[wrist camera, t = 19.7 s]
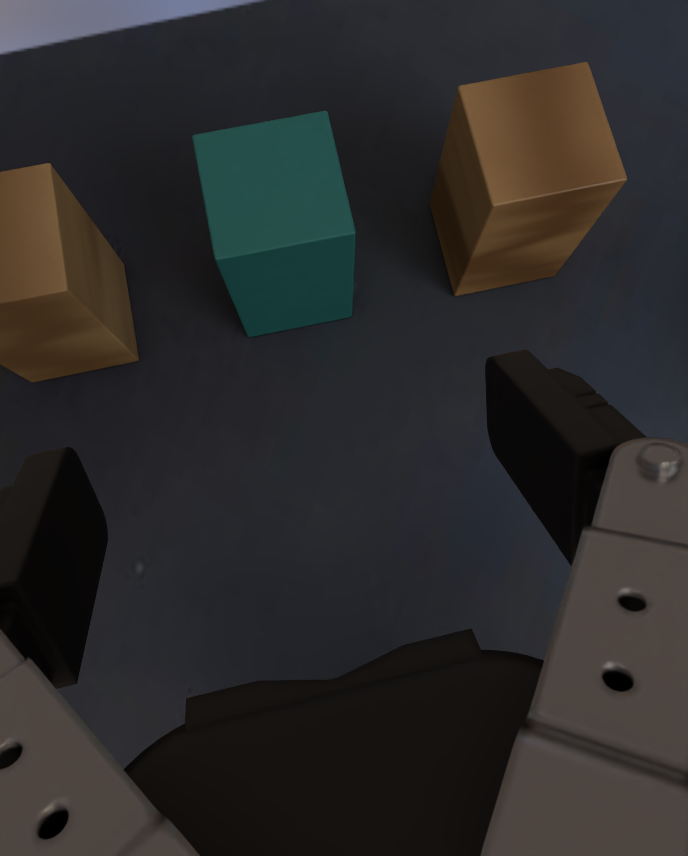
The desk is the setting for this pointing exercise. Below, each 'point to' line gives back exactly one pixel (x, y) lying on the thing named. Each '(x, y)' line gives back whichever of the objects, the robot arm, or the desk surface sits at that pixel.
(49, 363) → the block left
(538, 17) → the desk surface
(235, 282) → the teal block
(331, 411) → the desk surface
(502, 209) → the block right
